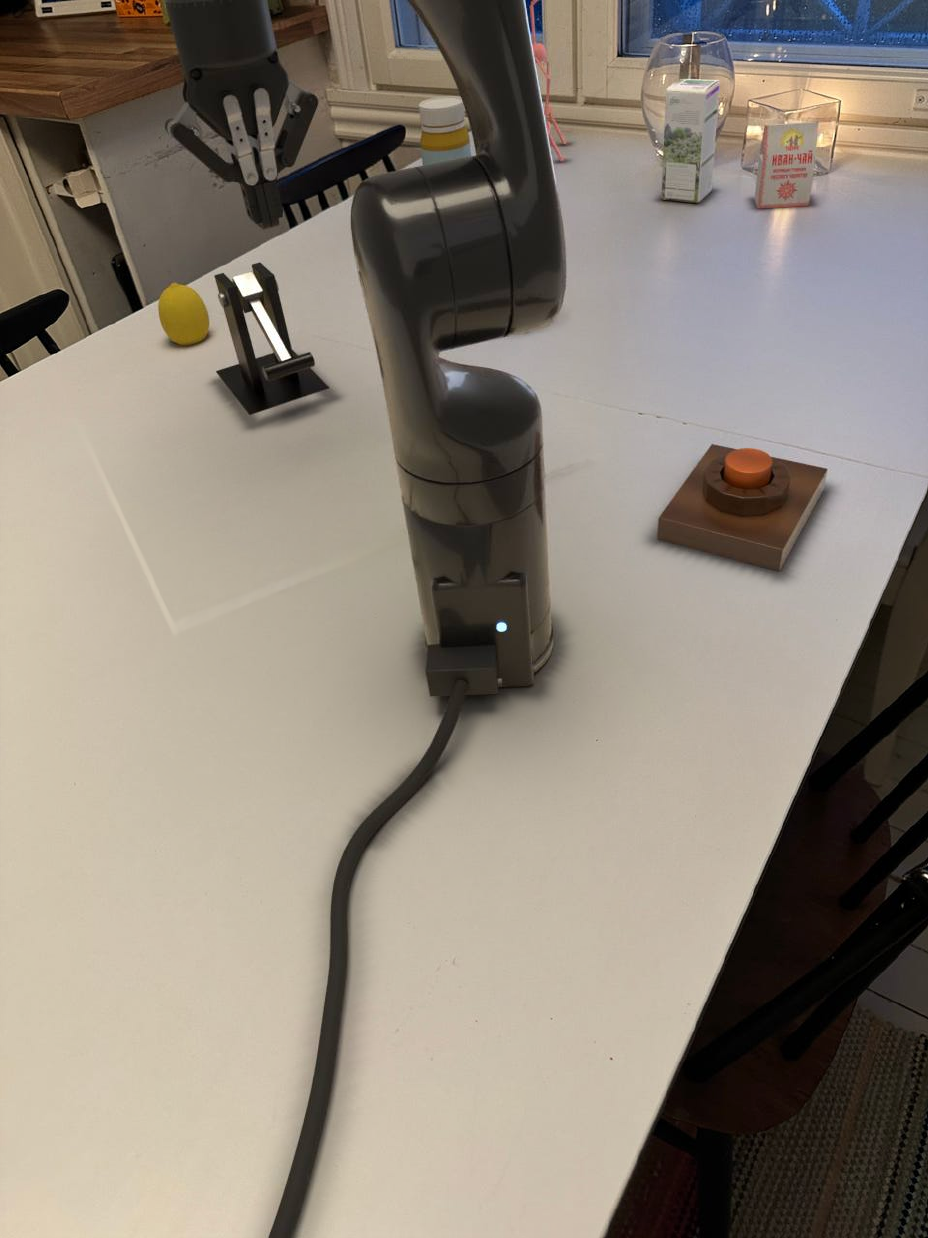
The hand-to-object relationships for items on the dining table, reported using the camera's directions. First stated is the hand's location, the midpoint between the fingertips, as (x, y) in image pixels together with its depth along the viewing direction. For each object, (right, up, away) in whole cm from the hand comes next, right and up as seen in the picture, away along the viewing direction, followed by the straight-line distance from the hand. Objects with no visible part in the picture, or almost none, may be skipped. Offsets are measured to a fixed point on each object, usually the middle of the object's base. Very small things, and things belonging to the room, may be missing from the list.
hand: (268, 225), depth 81 cm
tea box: (+61, +23, +48) cm, 81 cm away
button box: (+40, -26, -3) cm, 48 cm away
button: (+40, -23, -6) cm, 46 cm away
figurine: (+27, +43, +74) cm, 90 cm away
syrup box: (+49, +27, +53) cm, 77 cm away
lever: (-3, -5, +13) cm, 15 cm away
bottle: (+15, +25, +57) cm, 64 cm away
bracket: (-4, -9, +21) cm, 23 cm away
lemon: (-15, -2, +31) cm, 35 cm away
